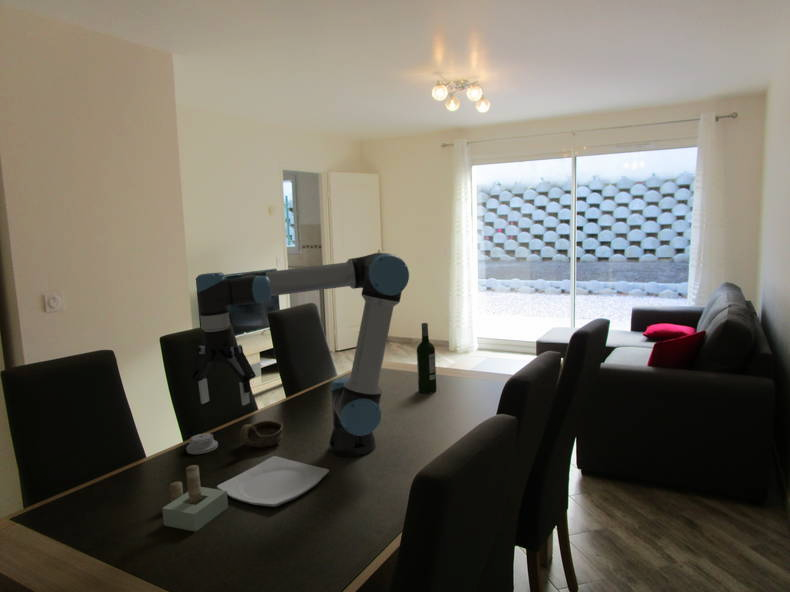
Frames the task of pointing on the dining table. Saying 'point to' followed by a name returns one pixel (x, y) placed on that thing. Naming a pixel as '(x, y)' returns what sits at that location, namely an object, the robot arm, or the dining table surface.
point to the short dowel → (176, 490)
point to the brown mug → (262, 433)
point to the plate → (273, 482)
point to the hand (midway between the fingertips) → (225, 403)
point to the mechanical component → (202, 444)
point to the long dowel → (193, 484)
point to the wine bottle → (426, 363)
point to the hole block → (195, 510)
